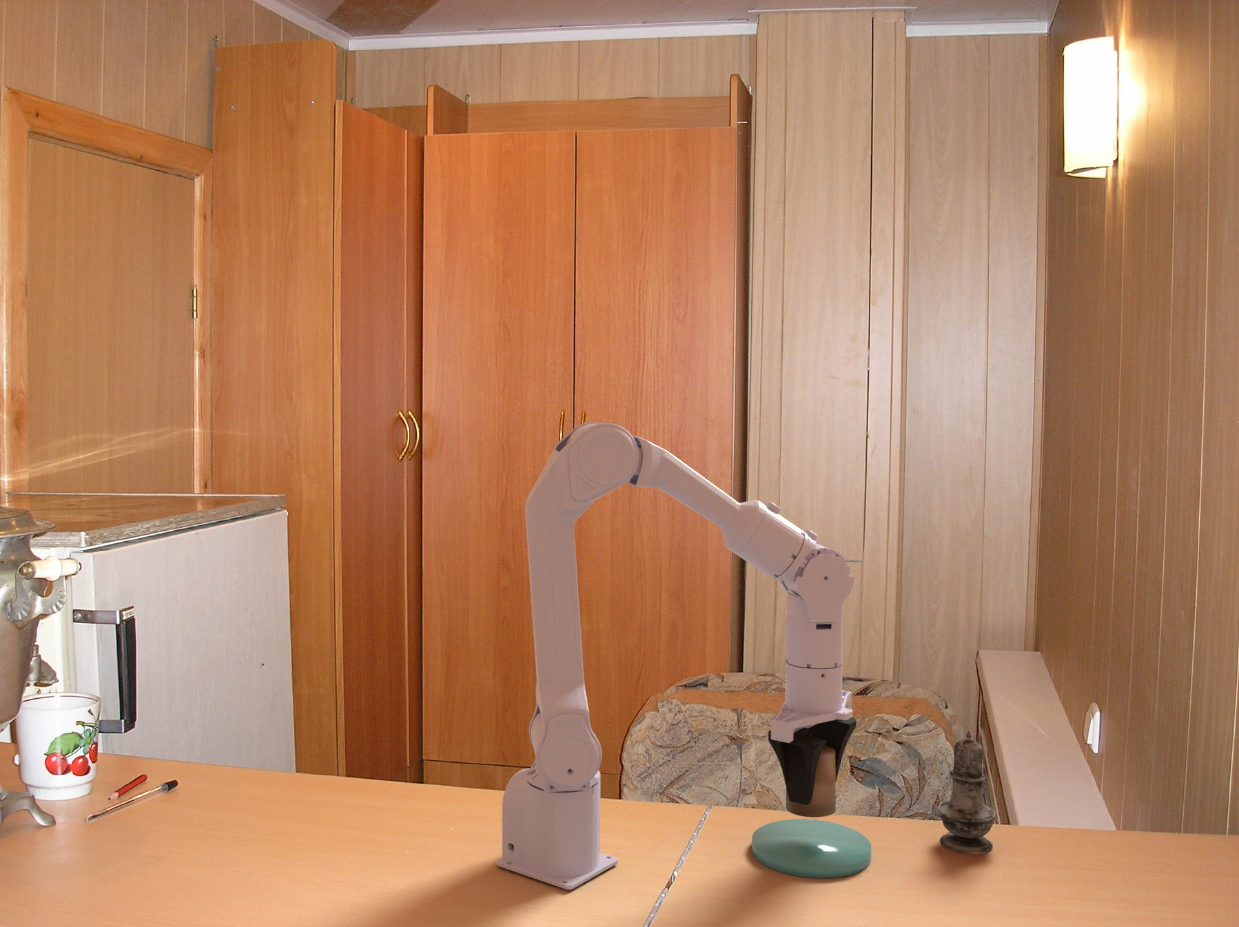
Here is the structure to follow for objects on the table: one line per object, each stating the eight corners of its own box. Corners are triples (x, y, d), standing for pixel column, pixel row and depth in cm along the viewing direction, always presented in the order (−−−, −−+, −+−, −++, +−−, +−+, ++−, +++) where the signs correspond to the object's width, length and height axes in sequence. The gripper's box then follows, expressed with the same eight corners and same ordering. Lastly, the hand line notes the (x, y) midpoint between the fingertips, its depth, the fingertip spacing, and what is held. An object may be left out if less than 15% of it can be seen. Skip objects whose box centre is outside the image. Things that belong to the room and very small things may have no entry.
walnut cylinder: (777, 810, 110) (776, 752, 110) (800, 796, 114) (800, 740, 114) (821, 820, 107) (820, 760, 107) (844, 806, 111) (843, 748, 111)
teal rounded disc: (730, 857, 109) (730, 845, 109) (785, 821, 119) (785, 810, 119) (840, 889, 102) (840, 876, 102) (889, 848, 112) (889, 836, 112)
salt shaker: (999, 857, 110) (1002, 741, 109) (939, 852, 111) (942, 737, 110) (991, 835, 115) (994, 724, 115) (934, 830, 117) (937, 721, 116)
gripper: (818, 682, 101) (816, 824, 102) (879, 654, 113) (877, 782, 114) (752, 671, 105) (751, 808, 106) (817, 645, 117) (816, 769, 118)
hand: (812, 794), depth 110 cm, fingers closed on walnut cylinder, 5 cm apart
